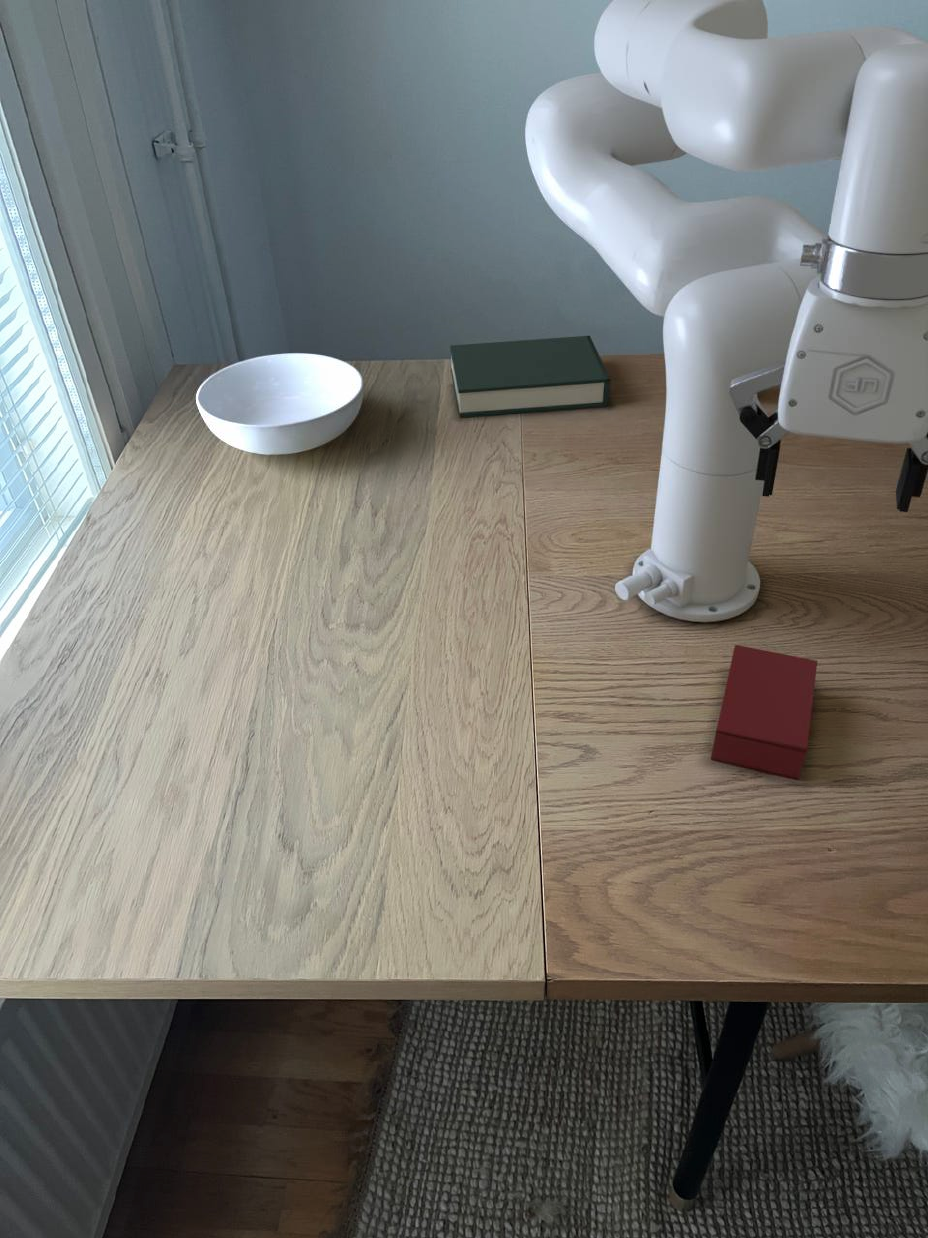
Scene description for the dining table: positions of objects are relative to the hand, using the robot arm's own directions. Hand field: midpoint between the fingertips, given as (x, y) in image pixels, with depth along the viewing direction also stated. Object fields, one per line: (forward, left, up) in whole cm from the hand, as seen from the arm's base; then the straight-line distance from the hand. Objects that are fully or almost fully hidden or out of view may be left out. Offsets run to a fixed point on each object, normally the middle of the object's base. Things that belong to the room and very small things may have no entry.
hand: (833, 495), depth 72 cm
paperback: (-5, -2, -20) cm, 21 cm away
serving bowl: (-12, +70, -20) cm, 74 cm away
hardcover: (+20, +60, -20) cm, 66 cm away
